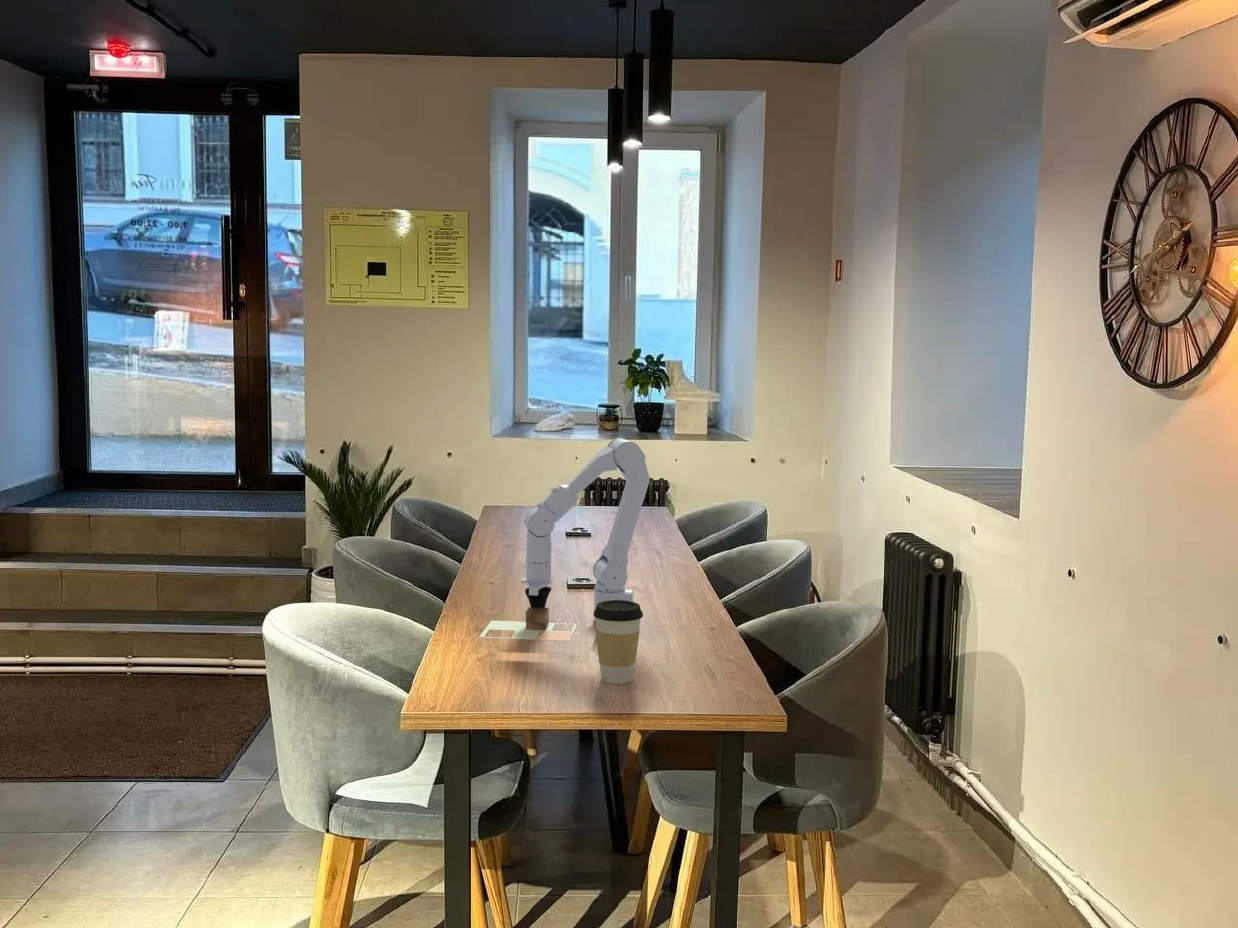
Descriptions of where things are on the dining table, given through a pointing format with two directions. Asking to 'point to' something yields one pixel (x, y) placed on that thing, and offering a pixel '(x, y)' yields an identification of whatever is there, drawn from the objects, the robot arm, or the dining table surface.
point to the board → (528, 631)
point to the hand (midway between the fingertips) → (538, 618)
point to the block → (537, 618)
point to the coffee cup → (617, 639)
